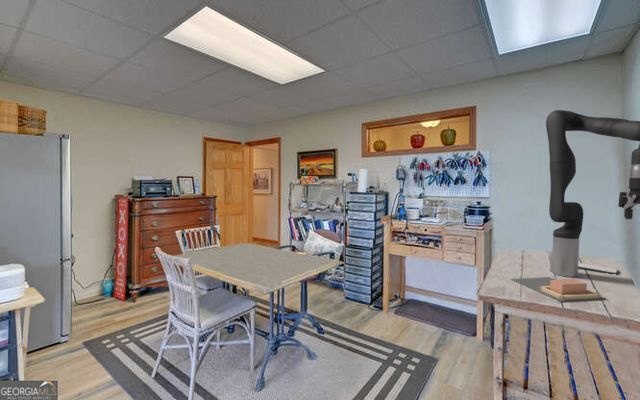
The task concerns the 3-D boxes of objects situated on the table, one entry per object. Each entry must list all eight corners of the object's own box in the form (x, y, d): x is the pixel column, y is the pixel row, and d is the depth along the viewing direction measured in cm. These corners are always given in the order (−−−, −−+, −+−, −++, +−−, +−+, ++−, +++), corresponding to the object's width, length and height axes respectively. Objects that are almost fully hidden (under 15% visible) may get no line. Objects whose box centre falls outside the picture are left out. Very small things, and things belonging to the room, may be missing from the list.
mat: (511, 279, 128) (511, 276, 128) (549, 278, 130) (549, 274, 130) (560, 302, 105) (561, 297, 105) (606, 299, 106) (606, 295, 106)
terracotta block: (573, 290, 115) (574, 278, 114) (586, 295, 110) (586, 283, 109) (550, 291, 114) (550, 280, 113) (561, 296, 109) (562, 284, 108)
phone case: (618, 272, 138) (574, 264, 151) (619, 269, 138) (574, 261, 150) (616, 276, 133) (571, 268, 145) (617, 273, 133) (571, 265, 145)
